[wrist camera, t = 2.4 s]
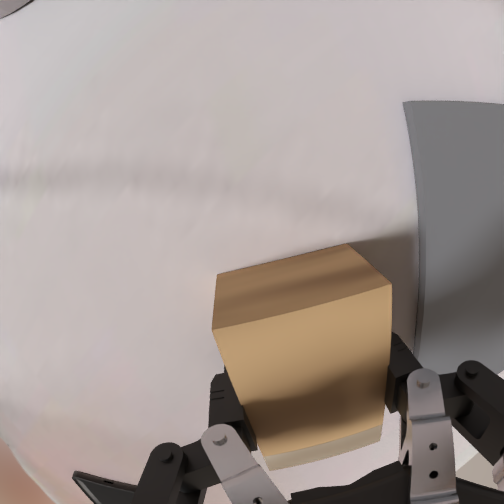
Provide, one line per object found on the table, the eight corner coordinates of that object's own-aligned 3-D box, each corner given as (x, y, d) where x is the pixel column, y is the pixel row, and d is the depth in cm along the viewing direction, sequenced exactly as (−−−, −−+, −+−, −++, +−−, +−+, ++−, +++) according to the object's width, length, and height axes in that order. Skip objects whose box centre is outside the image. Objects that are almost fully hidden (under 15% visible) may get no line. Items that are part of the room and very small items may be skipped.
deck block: (216, 274, 12) (210, 330, 8) (346, 243, 12) (392, 283, 8) (262, 413, 15) (269, 470, 11) (355, 389, 15) (379, 440, 11)
